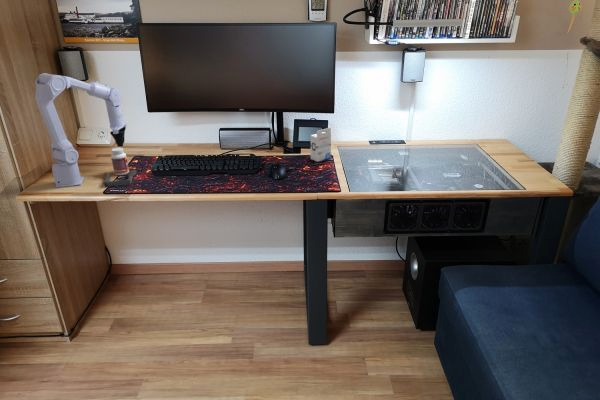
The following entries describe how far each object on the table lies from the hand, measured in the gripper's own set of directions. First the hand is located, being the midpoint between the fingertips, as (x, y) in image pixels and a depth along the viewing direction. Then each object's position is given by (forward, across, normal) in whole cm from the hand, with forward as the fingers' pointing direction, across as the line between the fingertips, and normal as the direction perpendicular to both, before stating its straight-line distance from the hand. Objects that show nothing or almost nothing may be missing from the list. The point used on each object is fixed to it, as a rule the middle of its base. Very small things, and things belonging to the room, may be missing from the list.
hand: (121, 144), depth 198 cm
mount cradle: (+9, -20, 0) cm, 22 cm away
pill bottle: (+10, -11, 0) cm, 15 cm away
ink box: (+10, -17, -89) cm, 91 cm away
